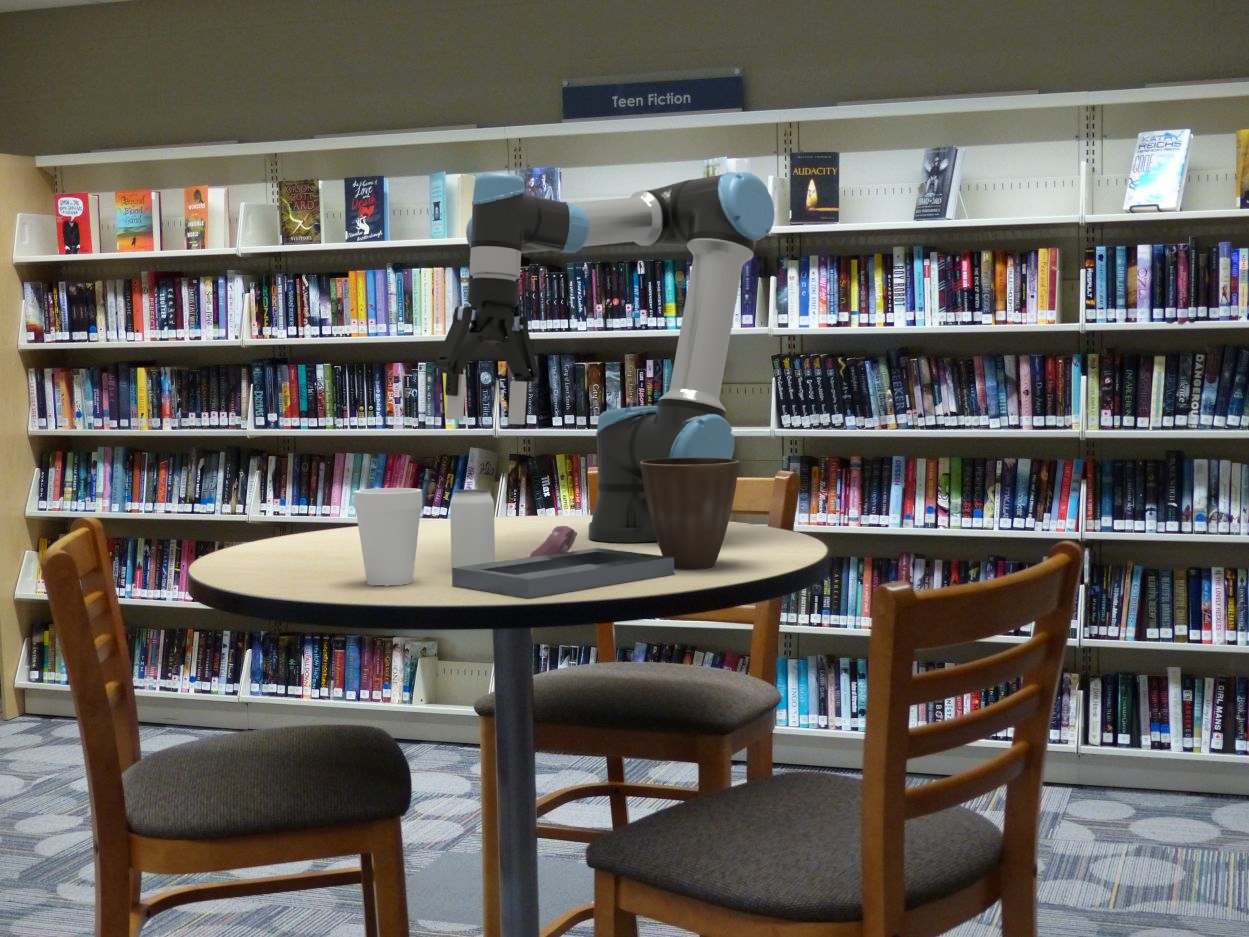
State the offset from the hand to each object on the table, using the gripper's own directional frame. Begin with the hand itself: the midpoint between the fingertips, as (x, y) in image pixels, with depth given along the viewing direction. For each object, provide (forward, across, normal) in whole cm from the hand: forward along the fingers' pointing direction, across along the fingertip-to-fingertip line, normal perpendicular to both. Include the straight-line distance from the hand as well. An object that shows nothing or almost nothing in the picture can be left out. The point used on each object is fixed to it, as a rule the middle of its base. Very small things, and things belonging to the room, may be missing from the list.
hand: (486, 422), depth 197 cm
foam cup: (+24, +15, -3) cm, 28 cm away
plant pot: (+20, -21, +24) cm, 38 cm away
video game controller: (+21, -13, +4) cm, 25 cm away
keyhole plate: (+22, 0, +17) cm, 28 cm away
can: (+22, 0, -1) cm, 23 cm away
